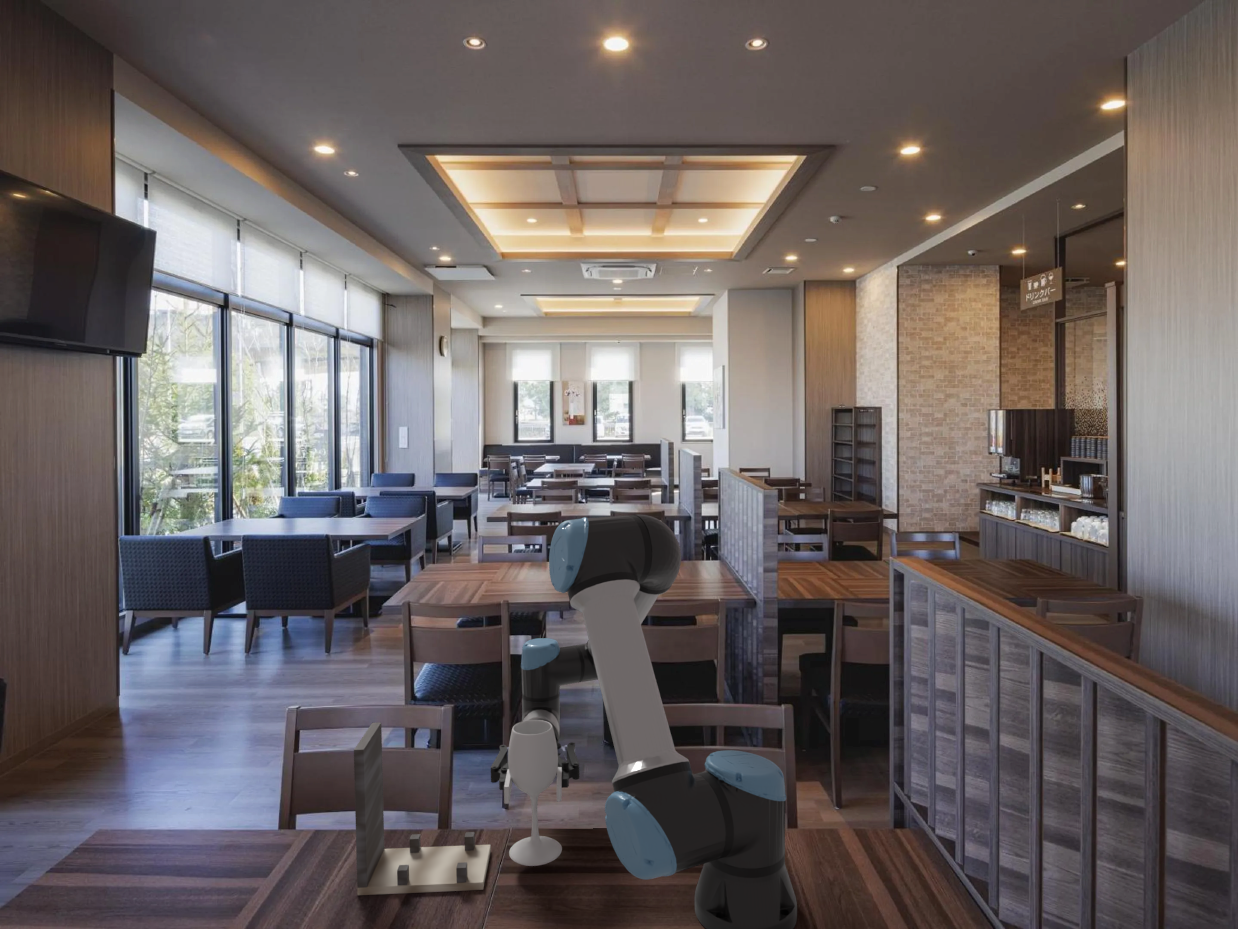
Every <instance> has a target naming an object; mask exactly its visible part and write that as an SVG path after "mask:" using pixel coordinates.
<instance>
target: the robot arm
mask: <svg viewBox="0 0 1238 929" xmlns="http://www.w3.org/2000/svg"><path fill="white" fill-rule="evenodd" d="M548 555H549V556H548V559H549V560H548V566H549V567H548V568H549V569H548V570H549V576H550V577H549V578H550V582H551V586H552V587H553V588H554V590H555V591H556V592H559V593H561V594H566V593H567V597H568V599H569V603H570V604H569V605H570V607H572V609H575V610H576V611H578V612H580V613H582V614H581V615H582V617H583V622H584V625H585V630H586V634H587V639H588V640H587V642H586V643H579V644H574V645H567V646H560V643H559V642H558V640H556V639H554V638H549V637H545V638H544V637H543V638H541V637H540V638H532V639H529V640H526V641H525V642H524V643H523V644H522V648H521V661H520V662H521V663H520V668H521V669H520V670H521V692H522V693H521V695H522V696H521V702H522V703H521V706H522V707H521V709H522V710H521V712H522V713H521V715H522V717H521V722H523V721H527V720H543V721H547V722H549V723H551V725H552V726H553V730H554V734H555V738H556V743H557V750H558V769H557V774H556V788H555V789H556V802H562V801H563V800H562V798H563V797H562V796H563V795H562V792H563V788H564V789H565V788H569V786H570V779H573V780H579V779H580V762H579V760H578V757H577V755H576V743H575V742H569V743H568V744H565V745H563V746H562V745H561V743H560V720H561V711H562V710H561V704H560V703H561V702H560V696H561V695H560V694H561V692H560V691H561V689H560V688H561V686H568V685H573V684H577V683H578V684H579V683H586V682H591V681H596V680H598V684H599V688H600V693H601V696H602V701H603V704H604V711H605V713H606V714H605V715H606V717H607V721H608V722H607V723H608V725H609V726H608V727H609V731H610V734H611V738H612V742H613V746H614V747H613V748H614V750H615V755H616V759H617V763H618V769H617V771H616V773H615V774H614V777H613V779H612V780H611V783H612V787H613V792H612V793H611V794H610V795H609V796H608V797H607V798H606V801H605V805H604V813H605V814H606V815H605V817H604V820H605V827H606V830H607V835H608V838H609V840H610V843H611V845H612V849H613V850H614V852H615V854H616V856H617V858H618V859H619V861H620V863H621V864H622V865H623V866H624V868H625V869H626V870H627V871H628V872H629V873H630V874H631V875H632V876H634V877H636V878H638V879H640V880H646V881H647V880H653V879H656V878H660V877H669V876H672V875H674V874H676V873H679V872H682V871H685V870H688V869H692V868H694V867H699V866H701V865H702V869H701V872H700V875H699V879H698V881H697V885H696V887H695V892H694V913H695V916H696V918H697V920H698V922H700V924H701V925H702V926H703V927H704V928H705V929H794V928H795V926H796V924H797V920H798V905H797V904H798V902H797V897H796V894H795V891H794V889H793V885H792V881H791V878H790V876H789V872H788V869H787V866H786V861H785V860H786V851H785V850H786V800H787V795H786V786H785V785H786V784H785V776H784V773H783V771H782V769H781V768H780V767H779V766H778V765H777V764H776V763H775V762H773V761H772V760H770V759H768V758H767V757H765V756H761V755H758V754H756V753H751V752H747V751H741V750H731V749H729V750H728V749H727V750H726V749H725V750H716V751H715V752H711V753H710V754H709V755H708V756H707V757H706V759H705V762H704V768H705V770H704V771H701V772H697V773H693V769H692V768H691V764H690V761H689V759H688V758H687V757H685V756H684V755H682V754H680V753H679V752H678V751H676V749H675V744H674V740H673V736H672V734H671V730H670V726H669V722H668V719H667V715H666V711H665V708H664V704H663V701H662V698H661V693H660V690H659V686H658V683H657V679H656V675H655V672H654V667H653V664H652V661H651V656H650V653H649V650H648V646H647V642H646V639H645V634H644V632H643V628H642V624H643V621H644V620H645V619H646V617H647V615H648V614H649V612H650V611H651V609H652V608H653V605H655V602H656V601H657V599H658V597H659V596H660V595H663V594H665V593H667V592H668V591H669V590H670V589H671V587H672V586H673V584H674V583H675V581H676V579H677V577H678V575H679V572H680V568H681V562H682V552H681V546H680V544H679V542H678V538H677V536H676V535H675V533H674V532H673V531H672V529H671V528H670V527H669V526H668V525H667V524H666V523H664V522H663V521H662V520H660V519H658V518H656V517H654V516H652V515H651V516H650V515H648V514H631V515H618V516H617V515H616V516H601V517H600V516H598V517H586V516H584V517H582V518H576V519H575V518H574V519H568V520H567V519H566V520H564V521H563V522H561V523H560V524H559V525H558V526H557V527H556V529H555V530H554V533H553V536H552V538H551V543H550V548H549V554H548ZM508 751H509V746H507V745H506V744H500V745H499V752H498V754H497V756H496V757H495V759H494V761H493V762H492V764H491V765H490V782H491V783H492V784H494V783H498V786H499V787H498V789H499V791H503V796H504V798H503V799H504V800H503V802H504V805H506V804H507V805H509V804H510V800H511V796H512V795H511V794H512V789H513V781H512V780H511V777H510V773H509V766H508ZM561 755H562V756H563V757H564V759H563V758H562V757H561ZM565 760H566V761H565Z"/></svg>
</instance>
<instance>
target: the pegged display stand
mask: <svg viewBox="0 0 1238 929" xmlns="http://www.w3.org/2000/svg"><path fill="white" fill-rule="evenodd" d="M382 732H383V731H382V722H381V721H380V722H372V723H371V724H370V726H369V727H368V728H367V730H366V731H365V733H364V734H363V736H362V738H360V739H359V741H358V743H357V744H356V745H355V747H354V749H353V769H354V771H353V772H354V774H353V776H354V806H355V807H354V808H355V809H354V811H355V812H354V814H355V815H354V816H355V843H356V844H355V846H356V847H355V848H356V849H355V850H356V851H355V852H356V854H355V855H356V885H357V886H356V887H357V888H356V890H357V896H368V895H369V896H372V895H391V894H394V895H395V894H415V893H416V894H417V893H437V892H438V893H439V892H442V893H443V892H455V891H456V892H460V891H461V892H462V891H482V890H484V886H485V882H486V876H487V871H488V866H489V861H490V857H491V851H492V850H491V844H476V841H475V840H476V838H475V837H476V836H475V835H476V834H475V831H466V832H465V834H464V845H445V846H444V845H443V846H422V847H421V833H419V834H418V833H417V834H414V833H413V834H411V835H410V837H409V847H399V848H398V847H397V848H395V847H394V848H385V828H384V827H385V822H384V817H385V816H384V814H385V813H384V792H383V791H384V787H383V786H384V783H383V782H384V781H383V780H384V778H383V774H384V773H383V745H382V744H383V741H382V739H383V737H382Z"/></svg>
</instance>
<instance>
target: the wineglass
mask: <svg viewBox="0 0 1238 929" xmlns="http://www.w3.org/2000/svg"><path fill="white" fill-rule="evenodd" d="M508 747H509V751H508V762H507V763H508V766H509V773H510V777H511V780H512V784H513V785H515V787H516V788H517V789H518V790H520V791H521V792H522V793H525V794H527V795H528V796H529V800H530V805H531V806H530V808H531V832H530V833H531V836H528V837H525V838H522V839H520V840H517V841H516V842H515V843H514V844H513V845H512V846H511V847H510V849H509V851H508V855H509V857H510V859H511V860H512V861H513V862H515V863H516V864H518V865H522V866H527V867H528V866H529V867H533V866H534V867H536V866H542V865H546V864H548V863H551V862H553V861H555V860H556V859H557V858H559V857H560V855H561V853H562V850H563V847H562V845H561V843H560V842H559V841H557V840H556V839H554V838H553V837H552V838H551V837H549V836H544V835H540V833H539V832H540V831H539V820H538V806H539V804H538V803H539V796H540V794H541V793H543V792H544V791H546V790H547V789H548V788H550V786H551V785H552V783H553V782H554V781H555V779H556V778H557V775H556V774H557V769H558V750H557V743H556V738H555V734H554V730H553V726H552V725H551V723H549V722H547V721H543V720H527V721H523V722H522V721H520V722H517V723H515V724H514V725H513V726H512V729H511V733H510V737H509V744H508Z"/></svg>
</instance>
